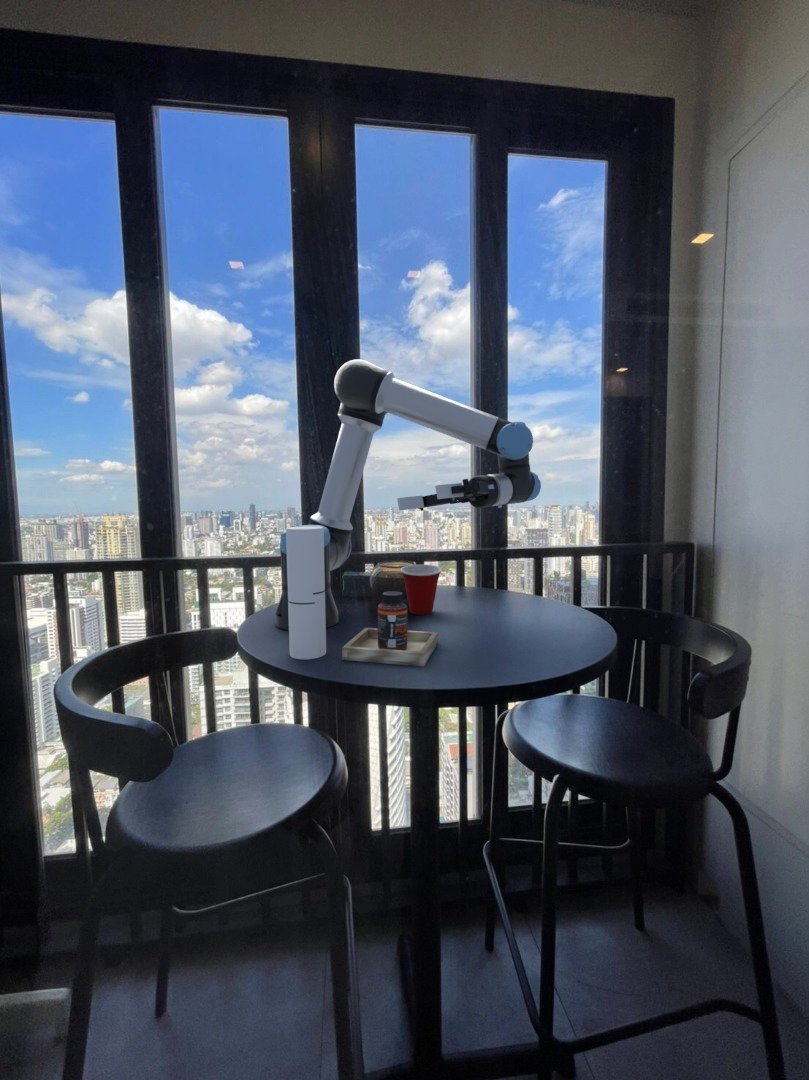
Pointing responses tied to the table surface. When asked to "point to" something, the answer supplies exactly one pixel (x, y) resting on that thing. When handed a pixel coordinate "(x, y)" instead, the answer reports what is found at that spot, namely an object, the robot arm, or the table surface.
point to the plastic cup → (421, 587)
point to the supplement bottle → (392, 622)
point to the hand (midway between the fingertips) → (417, 498)
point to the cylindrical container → (306, 592)
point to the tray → (368, 651)
